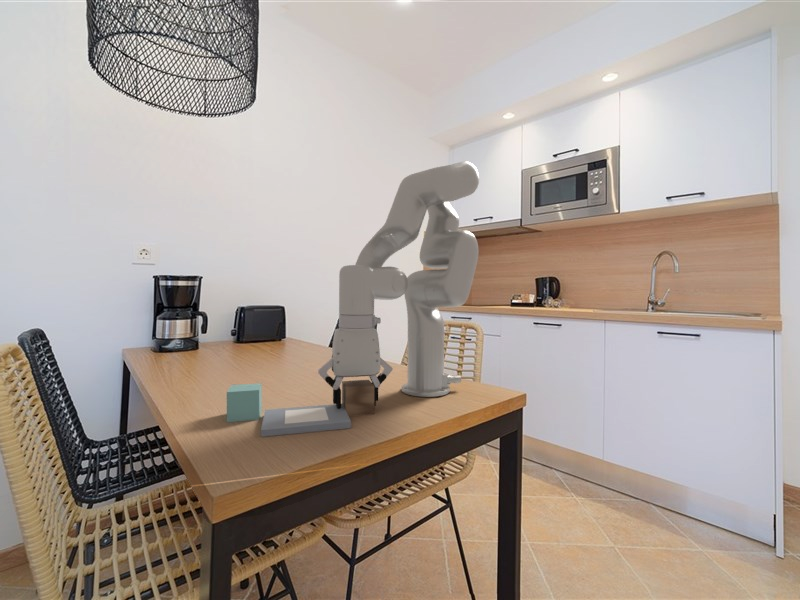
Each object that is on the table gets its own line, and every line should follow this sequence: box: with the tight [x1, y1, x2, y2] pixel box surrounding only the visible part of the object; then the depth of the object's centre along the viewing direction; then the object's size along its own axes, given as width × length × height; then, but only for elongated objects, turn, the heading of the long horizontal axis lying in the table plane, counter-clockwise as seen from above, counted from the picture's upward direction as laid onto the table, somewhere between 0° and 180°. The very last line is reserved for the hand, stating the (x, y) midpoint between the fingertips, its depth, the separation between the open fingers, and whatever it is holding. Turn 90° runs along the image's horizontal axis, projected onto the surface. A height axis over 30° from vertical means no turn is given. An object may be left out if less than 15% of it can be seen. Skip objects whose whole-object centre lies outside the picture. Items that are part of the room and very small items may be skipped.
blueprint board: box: [260, 403, 352, 438], centre depth 74 cm, size 16×12×1 cm
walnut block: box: [341, 379, 375, 417], centre depth 81 cm, size 6×6×6 cm
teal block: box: [226, 382, 263, 423], centre depth 77 cm, size 6×6×6 cm
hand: (355, 405), depth 80 cm, fingers open, 6 cm apart
